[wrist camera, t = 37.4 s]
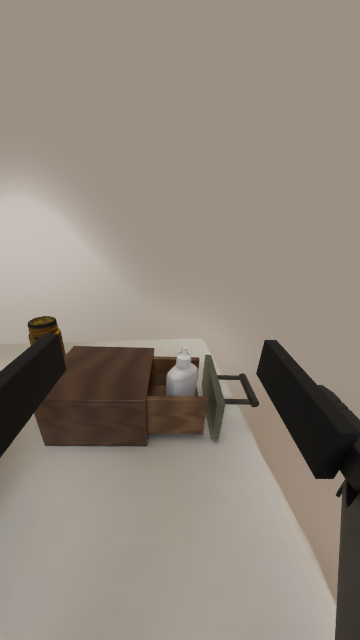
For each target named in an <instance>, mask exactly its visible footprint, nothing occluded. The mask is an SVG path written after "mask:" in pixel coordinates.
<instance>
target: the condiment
mask: <svg viewBox="0 0 360 640" xmlns="http://www.w3.org/2000/svg"><path fill="white" fill-rule="evenodd" d="M28 327H29V332H30V334H29V340H30V344H31V346H32V345H33V344H34V343H35V342H36V341H38V340H39V339H40V338H41V337H42V336H44V335H45V334H46V333H47V334H59V338H60V342H61V347H62V351H63V356H64V357H65V356H66V355H67V354H65V349H64V345H63V341H62V336H61V331H60V329H59V328H58V325H57V322H56V319H55V318H53V317H50V316H43V317H38V318H34V319H32V320H30V321H29V322H28Z"/></svg>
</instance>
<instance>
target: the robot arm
mask: <svg viewBox="0 0 360 640" xmlns="http://www.w3.org/2000/svg"><path fill="white" fill-rule="evenodd" d="M66 370H67V369H66V365H65V360H64V356H63V351H62V347H61V342H60V338H59V334H47V333H46V334H45V335H44V336H42V337H41V338H40V339H39V340H38V341H36V342H35V343H34V344H33V345H32V346H30V347H29V348H28V349H27V350H26V351H24V352H23V353H22V354H21V355H19V356H18V357H17V358H16V359H15V360H13V361H12V362H11V363H10V364H9V365H7V366H6V367H5V368H4V369H3V370H1V371H0V457H1V456H2V455H3V454H4V452H5V451H6V450H7V448H8V447H9V446H10V444H11V443H12V442H13V440H14V439H15V438H16V436H17V435H18V434H19V432H20V431H21V430H22V428H23V427H24V426H25V424H26V423H27V422H28V420H29V419H30V418H31V416H32V415H33V414H34V412H35V411H36V410H37V408H38V407H39V406H40V404H41V403H42V402H43V400H44V399H45V398H46V396H47V395H48V394H49V392H50V391H51V390H52V388H53V387H54V386H55V384H56V383H57V382H58V380H59V379H60V378H61V376H62V375H63V374H64V372H65V371H66ZM256 374H257V376H258V378H259V379H260V381H261V383H262V384H263V386H264V388H265V390H266V392H267V394H268V395H269V397H270V399H271V401H272V402H273V404H274V406H275V408H276V409H277V411H278V413H279V415H280V417H281V418H282V420H283V422H284V424H285V425H286V427H287V429H288V431H289V433H290V434H291V436H292V438H293V440H294V441H295V443H296V445H297V447H298V448H299V450H300V452H301V454H302V455H303V457H304V459H305V461H306V463H307V464H308V466H309V468H310V470H311V471H312V473H313V475H314V476H315V478H316V479H334V477H335V476H336V474H337V472H338V471H339V470H340V471H341V473H342V474H343V476H344V477H345V480H344V482H343V483H342V485H341V487H340V488H339V490H338V491H337V494H336V496H338V497H340V495H341V494H342V510H341V529H340V530H341V531H340V549H339V550H340V551H339V569H338V589H337V609H336V629H335V640H360V420H359V419H358V418H357V417H356V416H355V415H354V414H353V412H352V411H350V410H349V409H348V407H347V406H346V405H345V404H344V403H342V402H341V400H340V399H339V398H338V397H337V396H336V395H335V394H334V393H333V392H332V391H330V390H329V389H327V388H326V387H324V386H323V385H317V384H316V383H315V382H314V381H313V380H312V379H311V378H310V377H309V376H308V375H307V373H306V372H305V371H304V370H303V369H302V368H301V367H300V366H299V365H298V364H297V362H296V361H295V360H294V359H293V358H292V357H291V356H290V355H289V354H288V353H287V352H286V350H285V349H284V348H283V347H282V346H281V345H280V344H279V343H278V342H277V340H265V341H264V345H263V349H262V353H261V357H260V361H259V365H258V369H257V373H256Z"/></svg>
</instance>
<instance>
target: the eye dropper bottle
mask: <svg viewBox="0 0 360 640" xmlns="http://www.w3.org/2000/svg"><path fill="white" fill-rule="evenodd" d="M197 376H198V369H197V367H196V366H195V365H194V364H192V363H191V355H190V354H189V353H188V352H187V348H186V347H183V348H182V351H181V352H179V353H178V354H177V356H176V365H175V366H174V367H173V368H172V369H171V370H170V371H169V372H168V374H167V380H166V396H190V397H195V395H196V386H197Z"/></svg>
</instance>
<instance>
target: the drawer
mask: <svg viewBox="0 0 360 640" xmlns="http://www.w3.org/2000/svg"><path fill="white" fill-rule="evenodd" d="M191 363H192V364H194V365H195V366H196V367H197V369H198V368H199V358H193V357H191ZM175 365H176V357H153V362H152V368H151V374H150V381H149V387H148V393H147V400H146V407H147V433H156V434H203V428H204V421H205V414H206V413H207V418H208V424H209V429H210V435H211V439H219V434H220V428H221V423H222V418H223V413H224V407H225V404H249V405H251V406H252V407H257V406H258V405H259V402H258V400H257V398H256V396H255V393H254V392H253V389H252V387H251V385H250V383H249V381H248V379H247V377H246V375H245V374H243V373H242V374H240V375H239V376H228V375H217V374H216V370H215V367H214V364H213V360H212V357H211V355H205V361H204V369H203V378H202V390H203V396H204V397H198V392H197V386H196V395H195V397H190V396H166V380H167V374H168V372H169V371H170V370H171V369H172V368H173V367H174V366H175ZM197 378H198V376H197ZM239 379H240V382H241V384H242V386H243V388H244V391H245V393H246V395H247V398H248V399H224V398H223V394H222V391H221V387H220V384H219V381H218V380H239Z"/></svg>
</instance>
